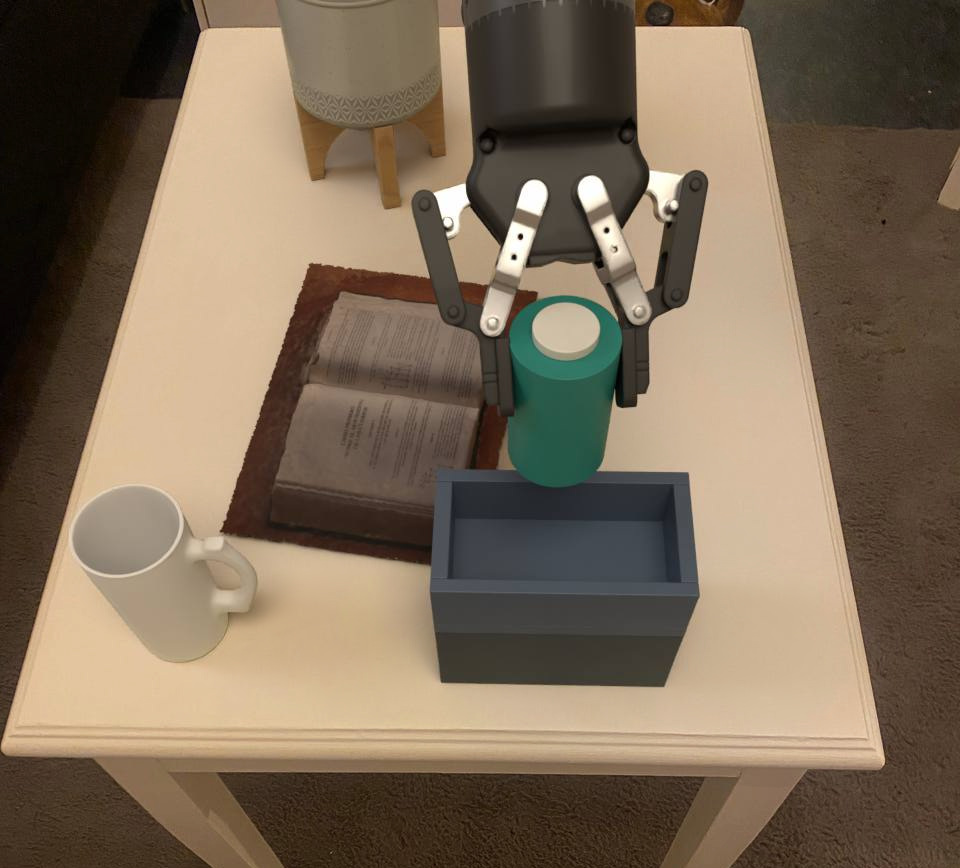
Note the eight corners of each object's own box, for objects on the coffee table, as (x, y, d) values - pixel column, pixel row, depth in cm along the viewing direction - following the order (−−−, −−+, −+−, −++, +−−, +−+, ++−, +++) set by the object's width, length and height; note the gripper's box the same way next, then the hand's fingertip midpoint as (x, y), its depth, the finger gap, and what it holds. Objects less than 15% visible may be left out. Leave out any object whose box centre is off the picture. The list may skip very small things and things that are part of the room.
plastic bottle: (520, 402, 54) (524, 276, 46) (613, 420, 53) (633, 295, 45) (497, 476, 51) (496, 358, 43) (594, 496, 51) (611, 380, 43)
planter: (297, 133, 91) (255, -76, 75) (427, 108, 92) (413, -101, 76) (323, 221, 85) (283, 16, 69) (461, 194, 87) (453, -13, 71)
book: (219, 539, 70) (206, 506, 66) (310, 267, 82) (303, 225, 78) (484, 584, 69) (487, 553, 65) (536, 303, 81) (542, 263, 77)
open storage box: (657, 578, 68) (688, 471, 57) (664, 687, 64) (700, 596, 53) (446, 575, 68) (436, 468, 57) (440, 683, 64) (429, 591, 53)
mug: (127, 664, 65) (55, 575, 54) (147, 581, 68) (83, 481, 58) (271, 670, 65) (227, 581, 54) (285, 585, 68) (246, 486, 57)
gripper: (382, 2, 38) (422, 430, 43) (736, -23, 38) (732, 405, 43) (389, 55, 45) (423, 417, 50) (687, 33, 45) (689, 395, 51)
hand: (566, 409), depth 47 cm, fingers closed on plastic bottle, 5 cm apart
